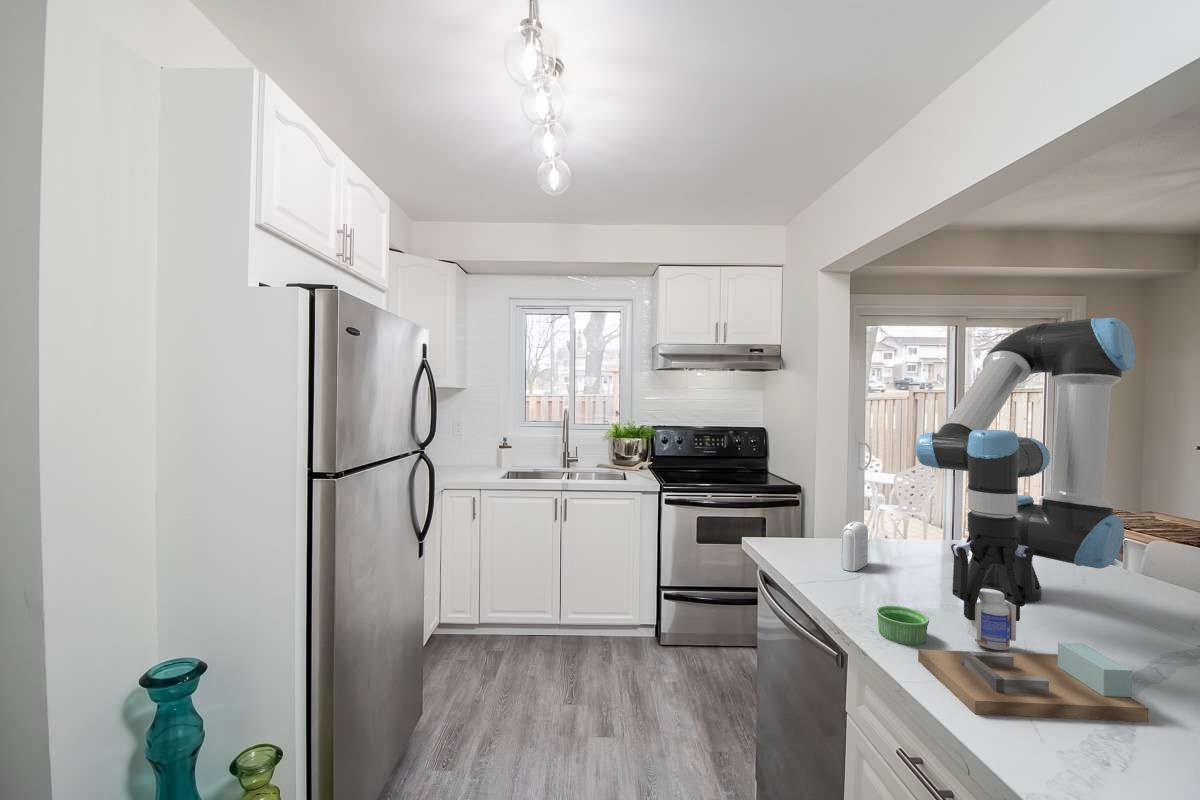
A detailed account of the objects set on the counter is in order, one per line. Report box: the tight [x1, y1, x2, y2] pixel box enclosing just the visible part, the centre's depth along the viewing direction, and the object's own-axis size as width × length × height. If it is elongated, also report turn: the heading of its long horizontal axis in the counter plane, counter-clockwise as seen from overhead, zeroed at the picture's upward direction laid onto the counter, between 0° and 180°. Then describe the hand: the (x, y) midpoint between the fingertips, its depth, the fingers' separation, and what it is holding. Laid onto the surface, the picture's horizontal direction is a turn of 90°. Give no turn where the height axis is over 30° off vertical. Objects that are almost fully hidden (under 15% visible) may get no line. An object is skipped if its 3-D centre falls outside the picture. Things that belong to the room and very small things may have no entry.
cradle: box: [917, 649, 1150, 723], centre depth 86 cm, size 24×16×4 cm, turn 86°
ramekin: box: [876, 605, 930, 646], centre depth 105 cm, size 9×9×4 cm
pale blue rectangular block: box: [1057, 642, 1133, 698], centre depth 85 cm, size 4×9×4 cm, turn 176°
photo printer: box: [840, 521, 869, 572], centre depth 147 cm, size 10×4×12 cm, turn 134°
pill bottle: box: [973, 589, 1011, 651], centre depth 100 cm, size 5×5×10 cm
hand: (991, 636), depth 100 cm, fingers closed on pill bottle, 5 cm apart
